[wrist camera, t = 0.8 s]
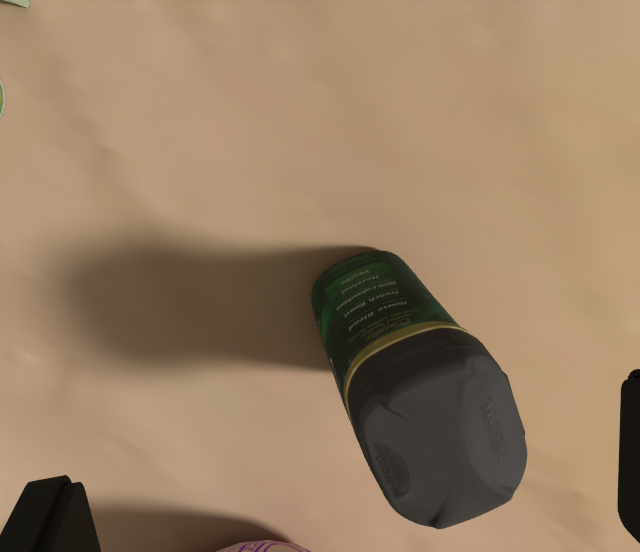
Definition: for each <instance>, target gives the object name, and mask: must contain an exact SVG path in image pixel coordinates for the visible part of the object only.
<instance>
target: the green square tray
mask: <svg viewBox="0 0 640 552" xmlns="http://www.w3.org/2000/svg"><path fill="white" fill-rule="evenodd" d="M2 1H5V2H9V3H12V4H16V5H19V6H22V7H26V8H28V6H29V0H2Z"/></svg>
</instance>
